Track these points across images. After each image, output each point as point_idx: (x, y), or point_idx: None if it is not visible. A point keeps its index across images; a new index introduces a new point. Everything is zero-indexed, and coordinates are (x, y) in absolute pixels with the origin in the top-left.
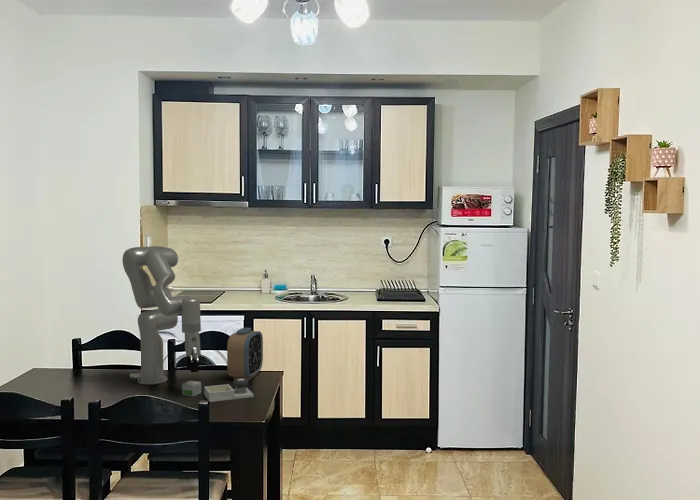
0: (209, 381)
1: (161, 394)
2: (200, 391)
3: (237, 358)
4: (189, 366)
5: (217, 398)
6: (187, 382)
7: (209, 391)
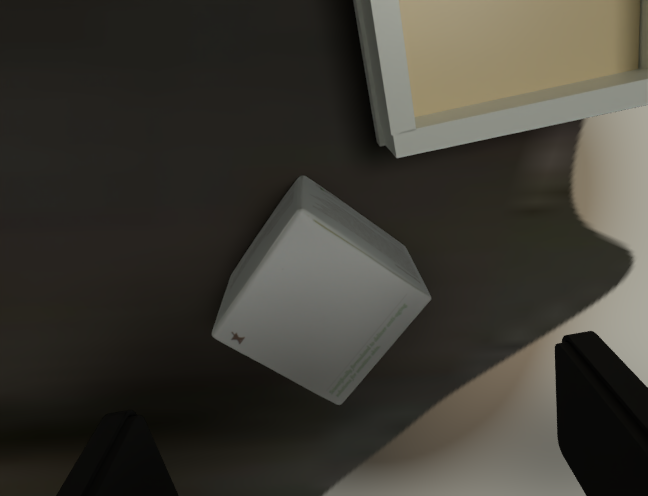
0: None
1: (285, 478)
2: (315, 187)
3: None
4: (164, 484)
5: None
6: (299, 360)
7: (639, 88)
